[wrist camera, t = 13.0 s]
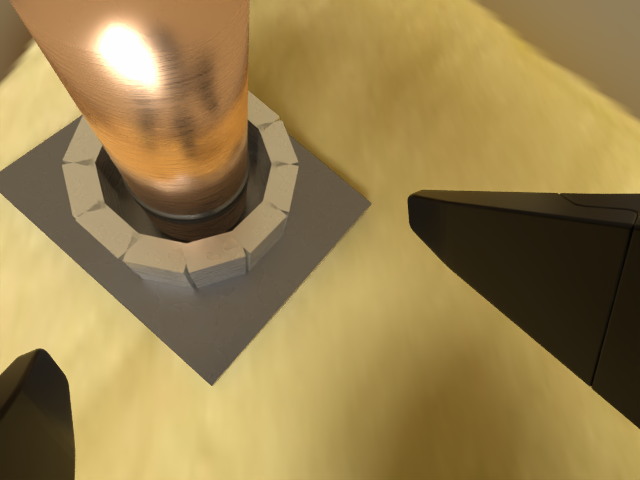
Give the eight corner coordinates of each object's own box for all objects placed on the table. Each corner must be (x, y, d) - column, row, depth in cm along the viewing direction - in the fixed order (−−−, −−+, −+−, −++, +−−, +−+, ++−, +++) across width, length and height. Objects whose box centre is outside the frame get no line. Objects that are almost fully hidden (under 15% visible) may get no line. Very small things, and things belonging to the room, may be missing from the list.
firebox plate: (366, 210, 22) (391, 178, 18) (213, 385, 18) (205, 388, 14) (185, 59, 23) (174, -2, 19) (-1, 189, 19) (-61, 145, 15)
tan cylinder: (263, 170, 21) (286, -66, 9) (224, 258, 19) (194, 97, 8) (169, 133, 20) (76, -158, 9) (120, 219, 18) (-74, -10, 7)
